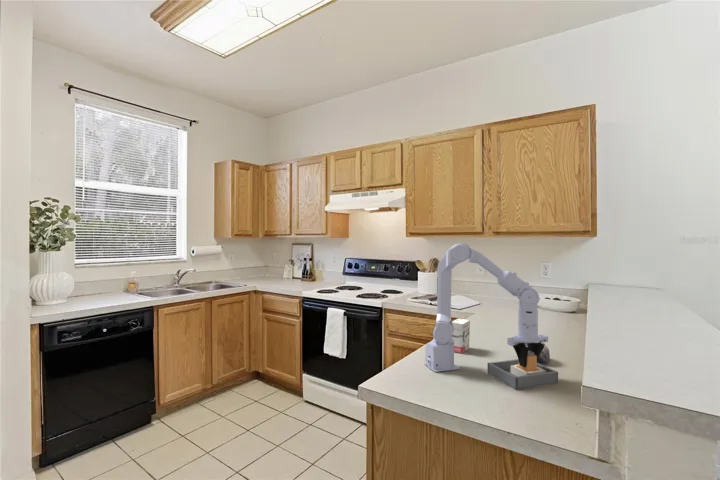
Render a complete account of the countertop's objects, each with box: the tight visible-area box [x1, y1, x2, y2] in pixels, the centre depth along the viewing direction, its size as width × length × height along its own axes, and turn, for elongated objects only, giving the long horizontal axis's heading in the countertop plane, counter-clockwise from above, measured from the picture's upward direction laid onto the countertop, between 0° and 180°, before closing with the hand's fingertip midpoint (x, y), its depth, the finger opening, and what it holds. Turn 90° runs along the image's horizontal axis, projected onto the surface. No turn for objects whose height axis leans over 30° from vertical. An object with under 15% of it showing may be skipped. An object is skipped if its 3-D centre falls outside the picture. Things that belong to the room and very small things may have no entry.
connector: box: [519, 351, 537, 372], centre depth 110 cm, size 4×4×6 cm
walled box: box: [487, 358, 559, 391], centre depth 109 cm, size 16×13×4 cm
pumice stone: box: [525, 342, 551, 365], centre depth 125 cm, size 10×8×10 cm
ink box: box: [451, 318, 471, 354], centre depth 137 cm, size 9×5×12 cm, turn 143°
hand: (527, 365), depth 110 cm, fingers closed on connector, 3 cm apart
